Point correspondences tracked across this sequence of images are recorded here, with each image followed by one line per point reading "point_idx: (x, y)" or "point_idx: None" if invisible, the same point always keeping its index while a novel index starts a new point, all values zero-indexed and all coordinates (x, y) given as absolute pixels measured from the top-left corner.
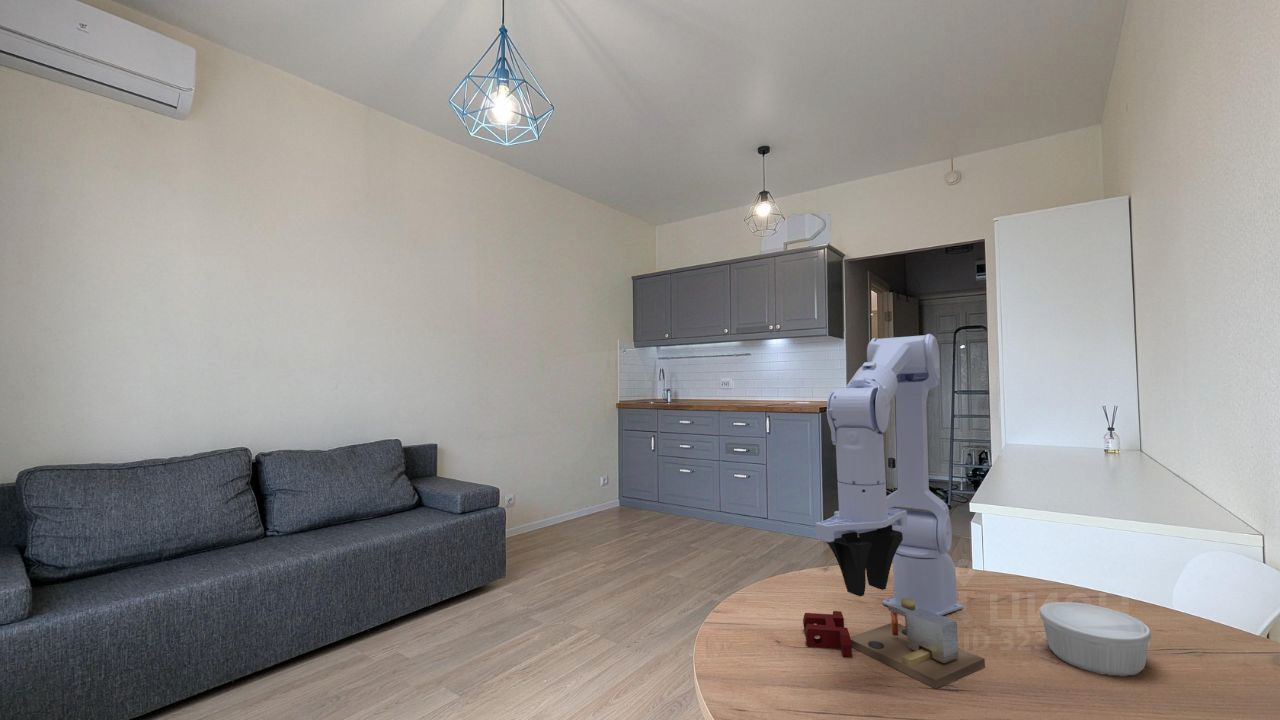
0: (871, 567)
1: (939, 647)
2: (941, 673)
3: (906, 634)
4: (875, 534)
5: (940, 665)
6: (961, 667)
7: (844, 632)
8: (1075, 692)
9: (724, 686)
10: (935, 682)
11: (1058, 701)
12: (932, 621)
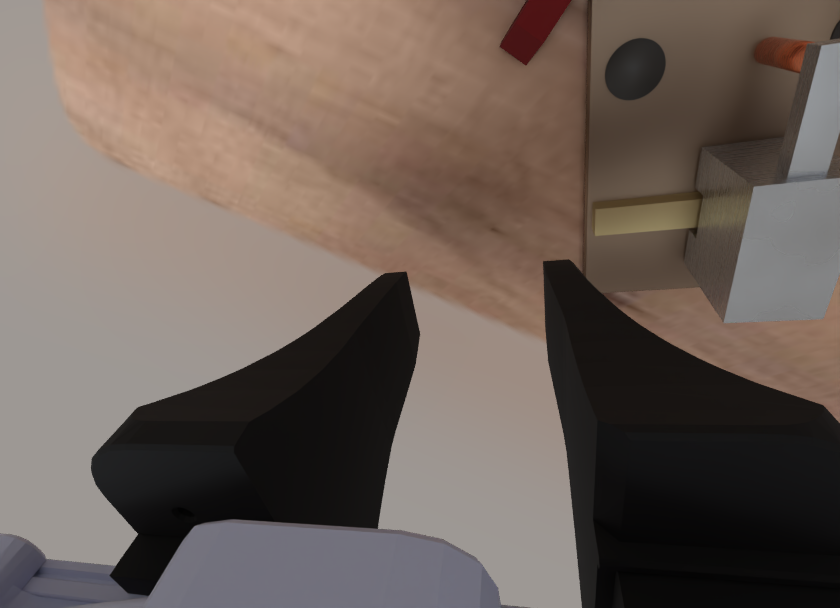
0: (556, 334)
1: (700, 271)
2: (630, 281)
3: None
4: (592, 582)
5: (674, 254)
6: None
7: (546, 5)
8: (835, 404)
9: (97, 60)
10: None
11: None
12: (744, 285)
